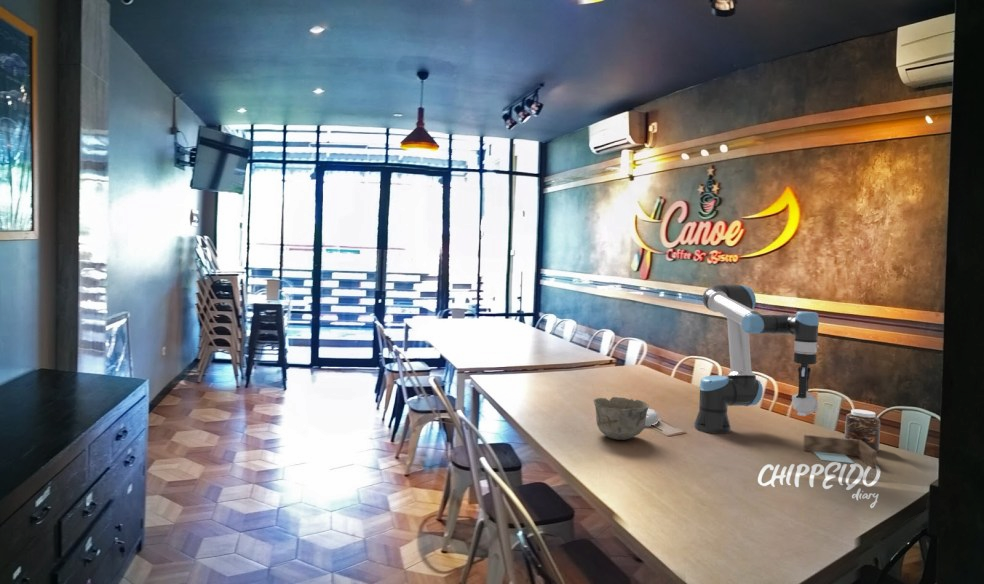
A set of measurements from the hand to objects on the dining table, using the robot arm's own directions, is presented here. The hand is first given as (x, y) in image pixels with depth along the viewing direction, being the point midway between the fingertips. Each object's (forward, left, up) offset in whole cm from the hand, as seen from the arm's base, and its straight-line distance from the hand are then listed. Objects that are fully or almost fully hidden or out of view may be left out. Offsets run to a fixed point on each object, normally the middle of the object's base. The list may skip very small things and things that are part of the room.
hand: (802, 413), depth 222 cm
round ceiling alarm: (-61, +33, -17) cm, 71 cm away
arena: (+14, +4, -17) cm, 22 cm away
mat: (+13, +4, -17) cm, 21 cm away
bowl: (-67, +2, -17) cm, 69 cm away
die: (0, -2, -1) cm, 2 cm away
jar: (+28, +23, -17) cm, 40 cm away
